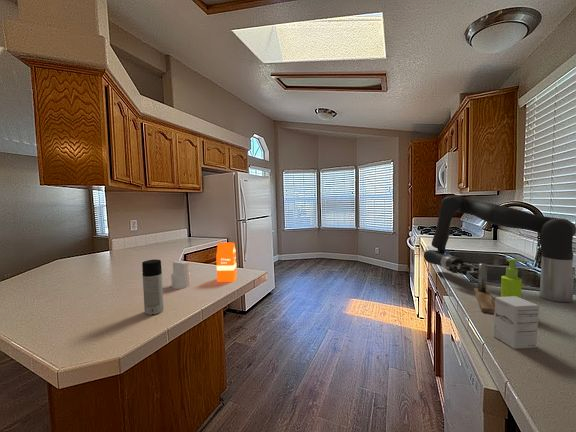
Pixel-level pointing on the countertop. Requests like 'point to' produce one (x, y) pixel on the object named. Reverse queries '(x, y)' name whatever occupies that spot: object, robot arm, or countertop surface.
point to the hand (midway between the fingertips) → (475, 272)
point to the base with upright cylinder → (484, 291)
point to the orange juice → (226, 262)
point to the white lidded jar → (181, 275)
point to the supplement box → (516, 322)
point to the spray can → (152, 286)
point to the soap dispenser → (511, 280)
